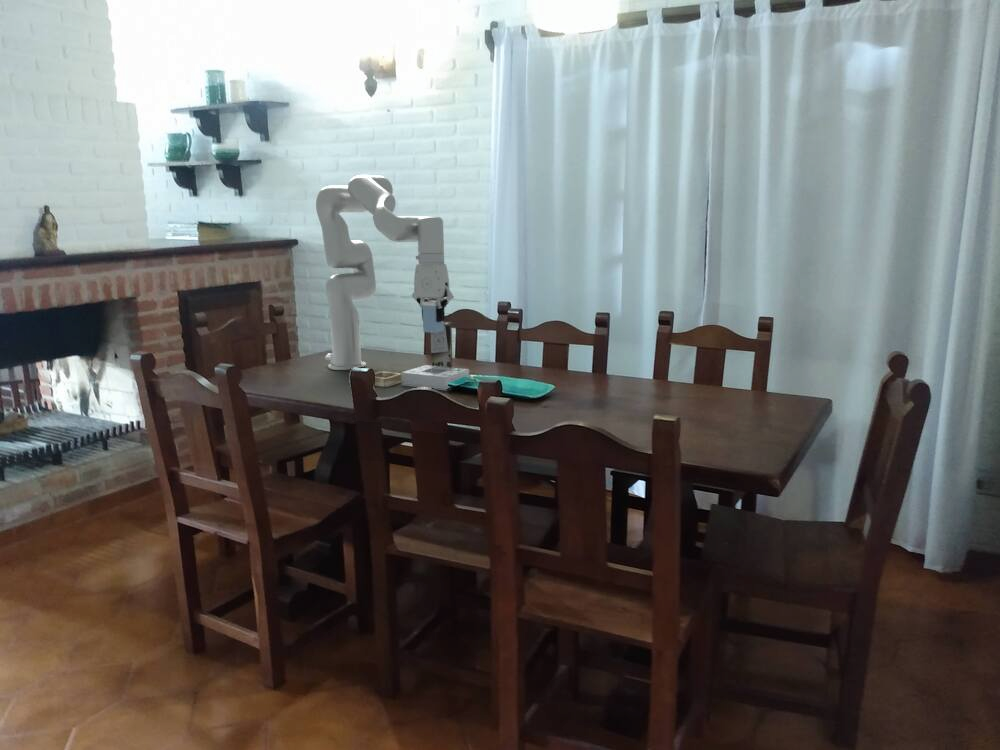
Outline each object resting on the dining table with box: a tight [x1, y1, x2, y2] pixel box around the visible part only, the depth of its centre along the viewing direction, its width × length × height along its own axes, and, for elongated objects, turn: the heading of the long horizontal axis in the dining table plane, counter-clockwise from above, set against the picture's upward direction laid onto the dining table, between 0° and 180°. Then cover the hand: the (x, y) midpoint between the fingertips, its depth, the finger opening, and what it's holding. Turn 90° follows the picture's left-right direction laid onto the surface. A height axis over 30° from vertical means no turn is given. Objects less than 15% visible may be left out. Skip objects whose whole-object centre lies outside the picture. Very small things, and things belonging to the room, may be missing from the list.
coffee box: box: [430, 321, 454, 368], centre depth 248 cm, size 9×6×16 cm
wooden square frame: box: [374, 370, 402, 388], centre depth 234 cm, size 9×9×2 cm
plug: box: [422, 300, 445, 334], centre depth 228 cm, size 4×4×9 cm
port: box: [400, 364, 470, 391], centre depth 232 cm, size 16×13×4 cm
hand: (433, 320), depth 228 cm, fingers closed on plug, 4 cm apart
